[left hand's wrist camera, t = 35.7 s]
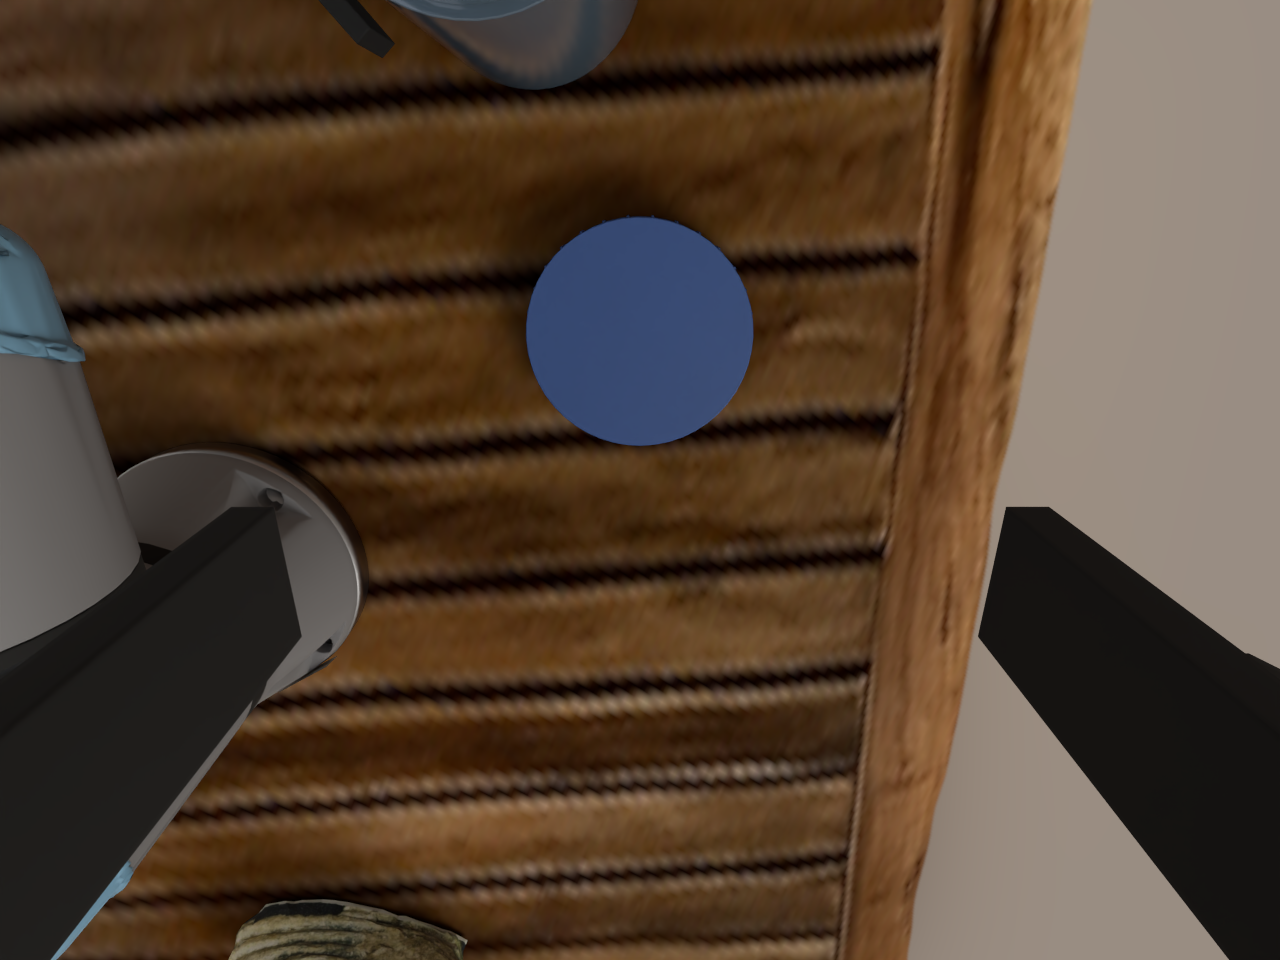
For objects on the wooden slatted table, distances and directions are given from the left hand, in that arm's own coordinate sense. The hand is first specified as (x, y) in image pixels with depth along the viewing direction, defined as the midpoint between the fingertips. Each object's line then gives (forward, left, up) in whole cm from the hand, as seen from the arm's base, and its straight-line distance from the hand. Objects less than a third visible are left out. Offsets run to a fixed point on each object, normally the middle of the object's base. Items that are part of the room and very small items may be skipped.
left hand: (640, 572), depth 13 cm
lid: (0, 0, -24) cm, 24 cm away
